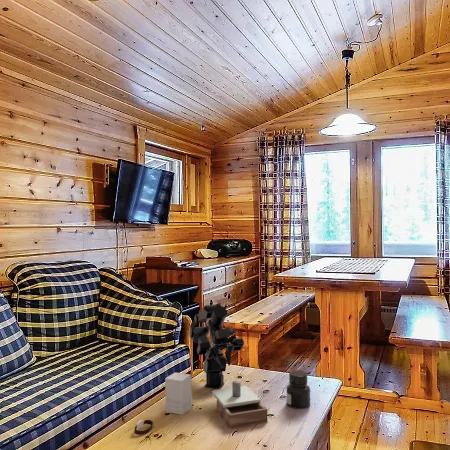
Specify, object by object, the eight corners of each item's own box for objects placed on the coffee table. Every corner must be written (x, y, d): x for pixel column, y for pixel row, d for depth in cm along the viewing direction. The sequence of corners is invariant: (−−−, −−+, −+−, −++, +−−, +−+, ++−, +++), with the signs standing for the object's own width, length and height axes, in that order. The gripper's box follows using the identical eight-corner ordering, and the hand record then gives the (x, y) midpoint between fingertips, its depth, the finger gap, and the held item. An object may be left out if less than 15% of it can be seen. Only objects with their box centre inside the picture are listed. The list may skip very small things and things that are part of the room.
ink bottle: (291, 398, 179) (290, 367, 178) (313, 401, 175) (313, 371, 175) (283, 407, 170) (282, 375, 170) (306, 411, 166) (305, 379, 166)
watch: (145, 425, 157) (145, 414, 157) (156, 428, 155) (156, 417, 155) (130, 434, 150) (130, 423, 150) (141, 437, 148) (141, 426, 148)
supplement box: (192, 407, 171) (191, 374, 170) (182, 415, 164) (182, 380, 164) (175, 404, 174) (175, 371, 173) (165, 412, 167) (164, 378, 167)
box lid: (211, 393, 172) (211, 377, 172) (246, 388, 177) (246, 372, 177) (223, 407, 159) (223, 390, 159) (260, 402, 164) (260, 385, 164)
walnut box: (216, 411, 167) (216, 399, 167) (252, 406, 171) (252, 394, 171) (229, 428, 154) (229, 415, 153) (267, 422, 158) (267, 409, 158)
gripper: (198, 322, 180) (207, 358, 170) (242, 318, 186) (253, 352, 176) (193, 337, 188) (201, 372, 177) (235, 333, 194) (245, 366, 183)
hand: (225, 365), depth 178 cm, fingers open, 3 cm apart
